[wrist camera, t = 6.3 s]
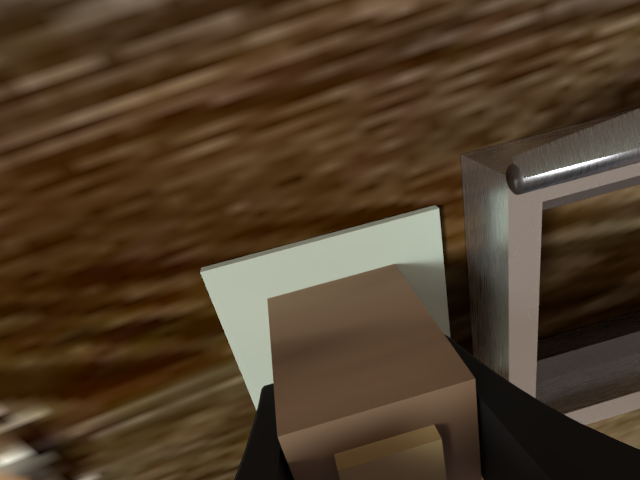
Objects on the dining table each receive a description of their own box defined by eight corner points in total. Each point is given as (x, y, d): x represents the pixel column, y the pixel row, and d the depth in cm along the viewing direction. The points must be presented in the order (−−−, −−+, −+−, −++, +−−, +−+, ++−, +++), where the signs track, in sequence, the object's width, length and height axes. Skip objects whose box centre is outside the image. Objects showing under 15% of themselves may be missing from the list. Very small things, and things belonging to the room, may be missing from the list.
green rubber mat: (451, 377, 17) (454, 383, 17) (267, 431, 17) (267, 437, 16) (435, 205, 13) (439, 208, 13) (201, 267, 13) (200, 272, 13)
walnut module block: (409, 361, 16) (491, 515, 10) (298, 392, 16) (324, 567, 10) (394, 263, 14) (484, 392, 8) (267, 298, 14) (278, 453, 8)
